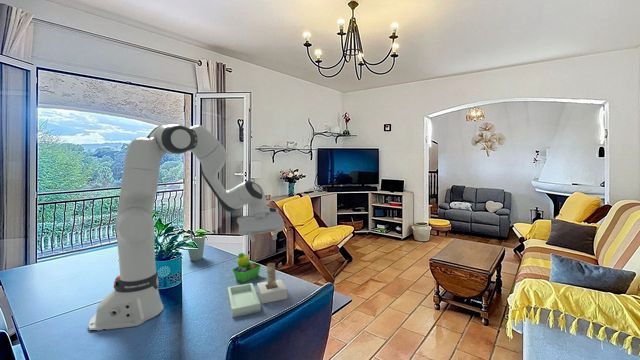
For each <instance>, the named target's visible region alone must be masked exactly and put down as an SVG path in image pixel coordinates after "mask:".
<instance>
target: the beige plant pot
mask: <svg viewBox="0 0 640 360" xmlns="http://www.w3.org/2000/svg"><path fill="white" fill-rule="evenodd" d="M205 240H206V236H205V237H204V238H194V239H192V241H194V242H195V243H196V244H197V246H198V249H188V248H187V251H188V256H189V259H190V261H191V262H192V261H200V260H202V259H203V257H204V250H205Z"/></svg>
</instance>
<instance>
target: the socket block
mask: <svg viewBox="0 0 640 360" xmlns="http://www.w3.org/2000/svg"><path fill="white" fill-rule="evenodd" d="M256 285H257V286H256V288H257V289H256V290H257V291H256V293H257V296H258V298H259V301H260V303H261V304H267V303H268V304H269V303H272V302H278V301H283V300H287V299H288V288H287V286H286V284H285V283H284V281H282V279H281V278H280V279H276V288H272V289H268V281H263V282H262V281H261V282H258V283H257V284H256Z"/></svg>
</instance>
